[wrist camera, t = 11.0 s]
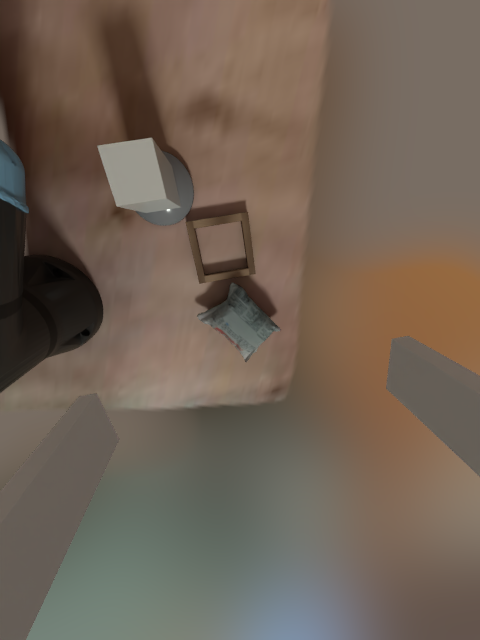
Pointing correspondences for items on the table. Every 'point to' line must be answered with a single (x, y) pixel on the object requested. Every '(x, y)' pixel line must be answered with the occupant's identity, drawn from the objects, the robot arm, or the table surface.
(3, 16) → the table surface
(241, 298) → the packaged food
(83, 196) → the table surface
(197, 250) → the walnut holder
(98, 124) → the table surface
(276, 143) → the table surface
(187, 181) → the grey disc
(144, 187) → the grey block
